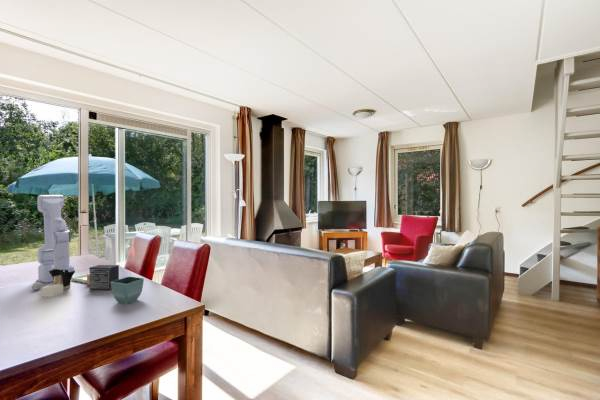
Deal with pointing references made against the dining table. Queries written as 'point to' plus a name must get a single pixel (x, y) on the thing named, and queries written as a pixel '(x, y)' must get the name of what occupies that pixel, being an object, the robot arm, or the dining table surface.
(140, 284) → the flower pot
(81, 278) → the tray
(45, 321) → the dining table surface
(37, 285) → the grey ball
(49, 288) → the cream block
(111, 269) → the small box
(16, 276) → the dining table surface
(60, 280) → the maple block
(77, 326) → the dining table surface
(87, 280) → the peach rounded cylinder
